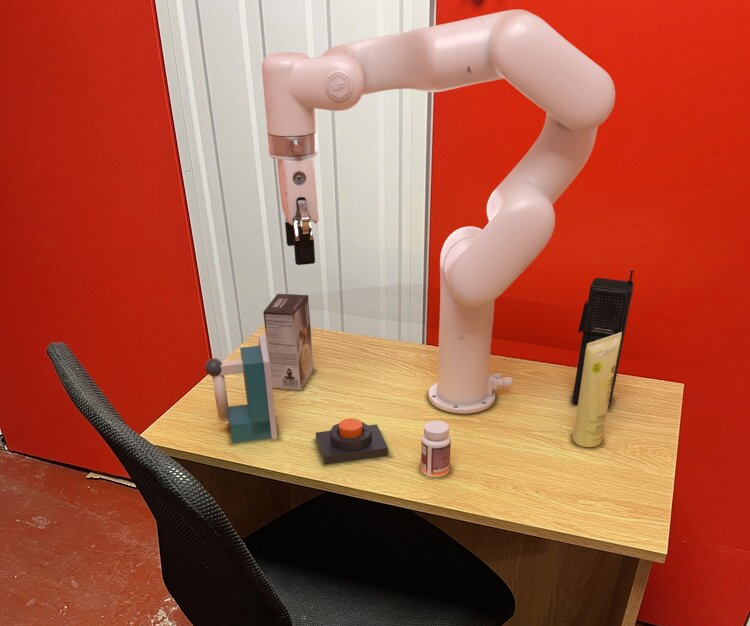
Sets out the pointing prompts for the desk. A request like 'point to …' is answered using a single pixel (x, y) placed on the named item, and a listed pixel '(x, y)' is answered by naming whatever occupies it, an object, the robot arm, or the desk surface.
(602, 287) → the portable radio
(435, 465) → the pill bottle
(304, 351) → the coffee box
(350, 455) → the switch box
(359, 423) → the power button
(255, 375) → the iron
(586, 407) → the tube
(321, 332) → the desk surface
